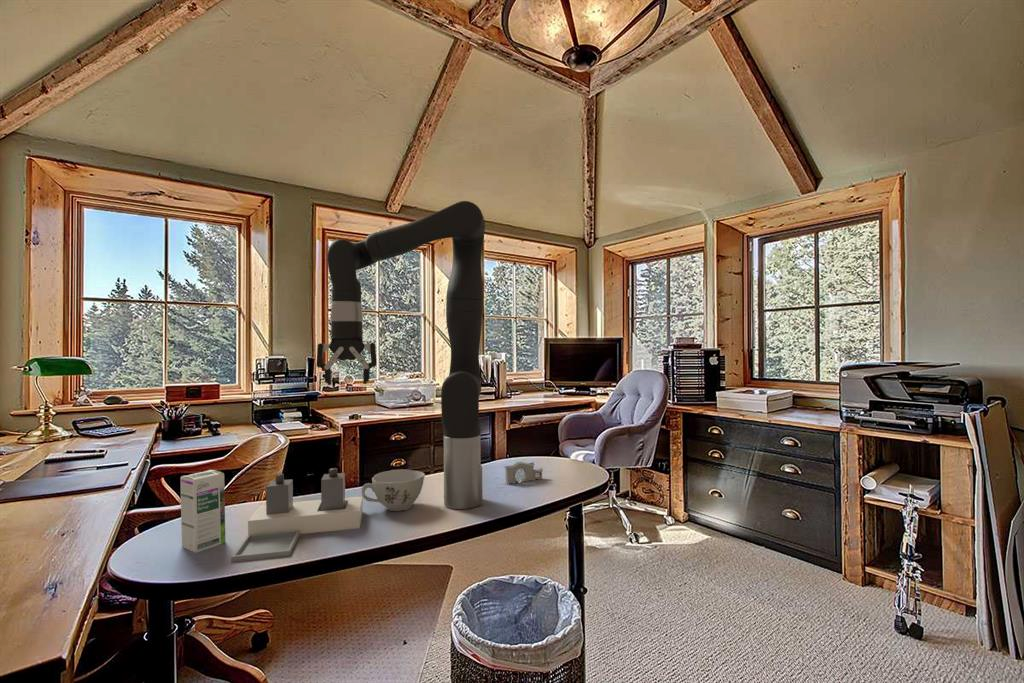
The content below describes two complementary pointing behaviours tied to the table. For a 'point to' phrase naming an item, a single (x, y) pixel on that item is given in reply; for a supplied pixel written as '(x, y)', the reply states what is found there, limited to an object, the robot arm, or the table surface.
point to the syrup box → (202, 510)
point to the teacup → (395, 488)
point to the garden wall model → (528, 473)
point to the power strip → (301, 512)
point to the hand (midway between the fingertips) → (347, 384)
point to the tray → (266, 546)
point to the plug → (333, 490)
